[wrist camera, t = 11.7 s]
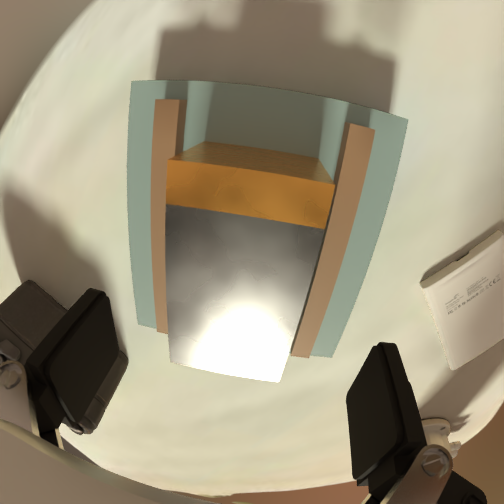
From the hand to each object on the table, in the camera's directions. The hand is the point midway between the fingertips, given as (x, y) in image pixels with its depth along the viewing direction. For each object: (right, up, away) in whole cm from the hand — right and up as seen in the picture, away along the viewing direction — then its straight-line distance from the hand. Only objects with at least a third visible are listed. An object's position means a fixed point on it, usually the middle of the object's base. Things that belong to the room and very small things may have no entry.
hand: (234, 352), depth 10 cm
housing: (0, +4, +6) cm, 8 cm away
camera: (-19, -6, +18) cm, 27 cm away
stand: (+1, +5, +9) cm, 11 cm away
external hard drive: (+20, -1, +11) cm, 23 cm away
